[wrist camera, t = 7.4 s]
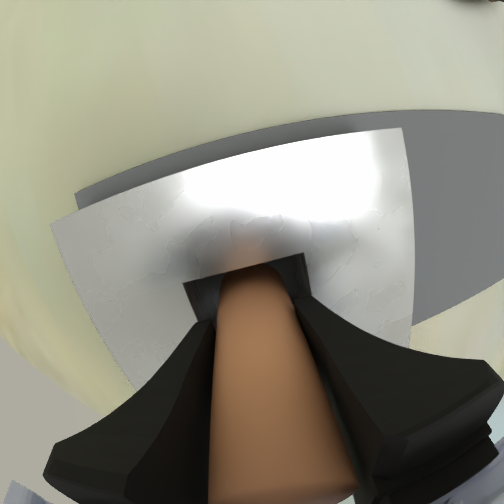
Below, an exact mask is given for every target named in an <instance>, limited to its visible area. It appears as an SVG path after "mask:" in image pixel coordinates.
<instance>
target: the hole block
mask: <svg viewBox="0 0 504 504" xmlns="http://www.w3.org/2000/svg"><path fill="white" fill-rule="evenodd" d="M50 226H51V229H52V232H53V234H54V237H55V240H56V243H57V245H58V248H59V251H60V253H61V256H62V258H63V261H64V263H65V266H66V268H67V270H68V273H69V275H70V277H71V279H72V282H73V284H74V286H75V288H76V290H77V292H78V295H79V297H80V299H81V301H82V303H83V305H84V307H85V309H86V311H87V312H88V314H89V316H90V318H91V320H92V322H93V324H94V326H95V327H96V329H97V331H98V333H99V334H100V336H101V338H102V340H103V341H104V343H105V345H106V346H107V348H108V350H109V351H110V353H111V354H112V356H113V358H114V359H115V361H116V362H117V364H118V365H119V367H120V368H121V370H122V371H123V373H124V374H125V376H126V377H127V379H128V380H129V382H130V383H131V384H132V386H133V387H134V389H135V390H136V391H138V390H139V389H140V388H142V387H143V386H144V385H145V384H146V383H147V382H148V381H149V380H150V378H151V377H152V376H153V375H154V374H155V373H156V372H157V371H158V369H159V368H160V367H161V366H162V365H163V364H164V362H165V361H166V360H167V359H168V358H169V356H170V355H171V354H172V353H173V351H174V350H175V349H176V347H177V346H178V345H179V343H180V342H181V341H182V339H183V338H184V337H185V335H186V334H187V333H188V331H189V330H190V329H191V327H192V326H193V325H194V324H195V323H196V322H200V321H205V320H210V319H211V320H212V322H213V325H214V327H215V330H216V325H217V313H218V309H217V306H216V303H215V300H214V298H213V295H212V292H211V289H210V286H209V283H208V281H207V278H206V277H208V276H212V275H216V274H220V273H224V272H228V271H232V270H236V269H240V268H244V267H248V266H252V265H256V264H260V263H264V262H268V261H272V260H275V259H279V258H283V257H287V256H292V261H293V266H294V270H295V275H296V280H297V285H298V290H299V296H300V297H304V296H307V295H311V296H313V297H314V298H316V299H317V300H318V301H319V302H321V303H322V304H323V305H325V306H326V307H327V308H329V309H330V310H332V311H333V312H334V313H336V314H337V315H339V316H340V317H342V318H343V319H345V320H347V321H348V322H350V323H351V324H353V325H355V326H357V327H358V328H360V329H362V330H364V331H366V332H368V333H370V334H372V335H374V336H376V337H379V338H381V339H383V340H386V341H388V342H391V343H394V344H396V345H399V346H403V347H406V348H409V341H410V333H411V324H412V313H413V300H414V279H415V238H414V217H413V203H412V192H411V183H410V175H409V168H408V161H407V155H406V149H405V143H404V138H403V132H402V128H392V129H382V130H373V131H364V132H356V133H349V134H342V135H335V136H329V137H323V138H317V139H312V140H306V141H301V142H296V143H291V144H286V145H281V146H276V147H272V148H267V149H263V150H258V151H254V152H250V153H246V154H242V155H238V156H234V157H230V158H227V159H223V160H219V161H216V162H212V163H209V164H205V165H202V166H198V167H195V168H192V169H188V170H185V171H182V172H179V173H176V174H173V175H170V176H167V177H164V178H161V179H158V180H155V181H152V182H149V183H146V184H144V185H141V186H138V187H135V188H133V189H130V190H127V191H125V192H122V193H119V194H117V195H114V196H112V197H109V198H107V199H104V200H102V201H100V202H97V203H95V204H92V205H90V206H88V207H86V208H83V209H81V210H79V211H76V212H74V213H72V214H70V215H68V216H66V217H63V218H61V219H59V220H57V221H55V222H53V223H51V224H50ZM293 306H294V309H295V304H293ZM295 311H296V309H295Z"/></svg>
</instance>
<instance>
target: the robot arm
mask: <svg viewBox="0 0 504 504" xmlns="http://www.w3.org/2000/svg"><path fill="white" fill-rule="evenodd" d="M294 304H295V309H296V314H297V317H298V319H299V322H300V325H301V327H302V330H303V332H304V335H305V337H306V339H307V342H308V345H309V347H310V350H311V353H312V355H313V358H314V360H315V363H316V366H317V368H318V371H319V374H320V376H321V379H322V382H323V384H324V387H325V390H326V392H327V395H328V398H329V400H330V403H331V406H332V409H333V411H334V414H335V417H336V419H337V422H338V425H339V428H340V431H341V433H342V436H343V439H344V442H345V444H346V447H347V450H348V453H349V456H350V459H351V461H352V464H353V467H354V470H355V473H356V476H357V479H358V482H359V488H358V490H357V491H356V492H355V493H354V494H352V495H353V499H354V502H355V504H504V437H503V438H501V439H500V440H499V441H498V442H497V443H496V444H493V442H492V441H491V439H490V438H489V435H490V434H491V432H492V430H491V428H490V426H489V425H488V423H487V421H488V419H489V418H490V417H491V415H492V413H493V412H494V410H495V409H496V407H497V406H498V404H499V402H500V400H501V399H502V397H503V394H504V381H503V380H502V379H501V377H500V376H499V375H498V374H497V373H496V372H495V371H494V370H493V369H492V368H491V367H490V365H489V364H488V363H487V362H485V361H484V360H475V359H461V358H451V357H444V356H439V355H433V354H428V353H424V352H420V351H416V350H412V349H409V348H406V347H403V346H399V345H396V344H394V343H391V342H388V341H386V340H383V339H381V338H379V337H376V336H374V335H372V334H370V333H368V332H366V331H364V330H362V329H360V328H358V327H357V326H355V325H353V324H351V323H350V322H348V321H347V320H345V319H343V318H342V317H340V316H339V315H337V314H336V313H334V312H333V311H332V310H330V309H329V308H327V307H326V306H325V305H323V304H322V303H321V302H319V301H318V300H317V299H316V298H314V297H313V296H311V295H307V296H304V297H300V298H296V299H294ZM215 338H216V330H215V327H214V325H213V322H212V320H211V319H210V320H205V321H200V322H196V323H195V324H194V325H193V326H192V327H191V329H190V330H189V331H188V333H187V334H186V335H185V337H184V338H183V339H182V341H181V342H180V343H179V345H178V346H177V347H176V349H175V350H174V351H173V353H172V354H171V355H170V356H169V358H168V359H167V360H166V361H165V362H164V364H163V365H162V366H161V367H160V368H159V369H158V371H157V372H156V373H155V374H154V375H153V376H152V377H151V378H150V380H149V381H148V382H147V383H146V384H145V385H144V386H143V387H142V388H140V389H139V390H138V391H137V392H136V393H135V394H134V395H133V396H132V397H131V398H129V399H128V400H127V401H126V402H124V403H123V404H122V405H121V406H119V407H118V408H117V409H116V410H114V411H113V412H112V413H110V414H109V415H107V416H106V417H104V418H103V419H101V420H100V421H98V422H97V423H95V424H93V425H92V426H90V427H88V428H87V429H85V430H83V431H81V432H79V433H77V434H75V435H73V436H71V437H69V438H67V439H65V440H62V441H60V442H58V443H55V445H54V447H53V449H52V452H51V454H50V457H49V459H48V462H47V464H46V467H45V469H44V472H43V477H44V478H45V480H46V481H47V482H48V483H49V484H50V485H51V486H53V487H54V488H55V489H57V490H58V491H60V492H61V493H63V494H64V495H66V496H67V497H69V498H71V499H72V500H74V501H76V502H77V503H79V504H208V476H209V444H210V420H211V400H212V383H213V367H214V352H215ZM3 504H52V503H50V502H47V501H45V500H44V499H43V498H42V497H40V496H39V495H37V494H36V493H34V492H33V491H31V490H30V489H28V488H26V487H24V486H23V485H21V484H19V483H17V482H15V481H13V480H12V481H11V483H10V486H9V489H8V491H7V494H6V497H5V499H4V502H3Z"/></svg>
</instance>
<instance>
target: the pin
mask: <svg viewBox="0 0 504 504" xmlns="http://www.w3.org/2000/svg"><path fill="white" fill-rule="evenodd" d="M358 488H359V482H358V479H357V476H356V473H355V470H354V467H353V464H352V461H351V459H350V456H349V453H348V450H347V447H346V444H345V442H344V439H343V436H342V433H341V431H340V428H339V425H338V422H337V419H336V417H335V414H334V411H333V409H332V406H331V403H330V400H329V398H328V395H327V392H326V390H325V387H324V384H323V382H322V379H321V376H320V374H319V371H318V368H317V366H316V363H315V360H314V358H313V355H312V353H311V350H310V347H309V345H308V342H307V339H306V337H305V335H304V332H303V330H302V327H301V325H300V322H299V319H298V317H297V314H296V311H295V309H294V306H293V304H292V301H291V298H290V296H289V293H288V291H287V288H286V286H285V283H284V281H283V279H282V277H281V275H280V274H279V272H278V271H277V270H276V269H274V268H273V267H271V266H270V265H268V264H265V263H260V264H256V265H252V266H248V267H244V268H240V269H236V270H232V271H228V272H227V273H226V275H225V276H224V277H223V279H222V281H221V284H220V289H219V301H218V313H217V325H216V338H215V352H214V367H213V383H212V400H211V420H210V444H209V476H208V504H337V503H339V502H341V501H343V500H345V499H346V498H348V497H349V496H351V495H352V494H354V493H355V492H356V491H357V490H358Z"/></svg>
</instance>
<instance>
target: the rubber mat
mask: <svg viewBox="0 0 504 504" xmlns="http://www.w3.org/2000/svg"><path fill="white" fill-rule="evenodd" d="M392 128H402V132H403V138H404V143H405V149H406V155H407V161H408V168H409V175H410V183H411V192H412V203H413V217H414V238H415V279H414V300H413V313H412V324H411V326H413V325H415V324H417V323H420V322H422V321H424V320H426V319H428V318H431V317H433V316H435V315H437V314H439V313H441V312H443V311H445V310H447V309H449V308H451V307H453V306H455V305H457V304H459V303H461V302H463V301H465V300H467V299H469V298H470V297H472V296H474V295H476V294H478V293H479V292H481V291H483V290H485V289H486V288H488V287H490V286H492V285H493V284H495V283H497V282H498V281H500V280H501V279H503V278H504V115H502V114H493V113H483V112H470V111H450V110H410V111H388V112H373V113H362V114H352V115H343V116H335V117H328V118H321V119H314V120H308V121H302V122H296V123H291V124H286V125H280V126H275V127H271V128H266V129H261V130H257V131H252V132H248V133H244V134H240V135H236V136H232V137H228V138H224V139H221V140H217V141H213V142H210V143H206V144H203V145H200V146H196V147H193V148H190V149H186V150H183V151H180V152H177V153H174V154H171V155H168V156H165V157H162V158H159V159H157V160H154V161H151V162H148V163H146V164H143V165H140V166H138V167H135V168H132V169H130V170H127V171H125V172H122V173H120V174H117V175H115V176H113V177H110V178H108V179H106V180H103V181H101V182H99V183H96V184H94V185H92V186H90V187H88V188H85V189H83V190H81V191H79V192H77V193H75V198H76V201H77V204H78V208H79V210H81V209H83V208H86V207H88V206H90V205H92V204H95V203H97V202H100V201H102V200H104V199H107V198H109V197H112V196H114V195H117V194H119V193H122V192H125V191H127V190H130V189H133V188H135V187H138V186H141V185H144V184H146V183H149V182H152V181H155V180H158V179H161V178H164V177H167V176H170V175H173V174H176V173H179V172H182V171H185V170H188V169H192V168H195V167H198V166H202V165H205V164H209V163H212V162H216V161H219V160H223V159H227V158H230V157H234V156H238V155H242V154H246V153H250V152H254V151H258V150H263V149H267V148H272V147H276V146H281V145H286V144H291V143H296V142H301V141H306V140H312V139H317V138H323V137H329V136H335V135H342V134H349V133H356V132H364V131H373V130H382V129H392ZM264 263H265V264H268V265H270V266H271V267H273V268H274V269H276V270H277V271H278V272H279V274H280V275H281V277H282V279H283V281H284V283H285V286H286V288H287V291H288V293H289V296H290V298H291V301H292V304H294V299H296V298H300V296H299V290H298V285H297V280H296V275H295V270H294V266H293V261H292V256H287V257H283V258H279V259H275V260H272V261H268V262H264ZM226 273H227V272H224V273H220V274H216V275H212V276H208V277H206V278H207V281H208V283H209V286H210V289H211V292H212V295H213V298H214V300H215V303H216V306H217V309H218V301H219V289H220V284H221V281H222V279H223V277H224V276H225V275H226Z"/></svg>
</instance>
